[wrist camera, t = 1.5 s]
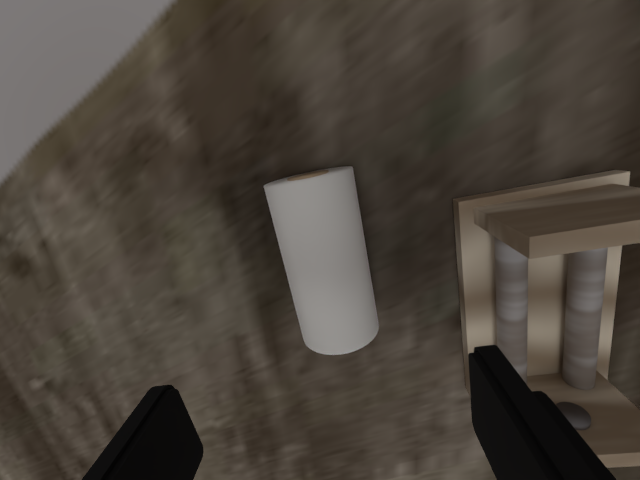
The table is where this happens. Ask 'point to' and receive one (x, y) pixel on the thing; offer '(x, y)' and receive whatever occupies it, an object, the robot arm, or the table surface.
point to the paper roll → (325, 258)
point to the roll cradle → (553, 294)
